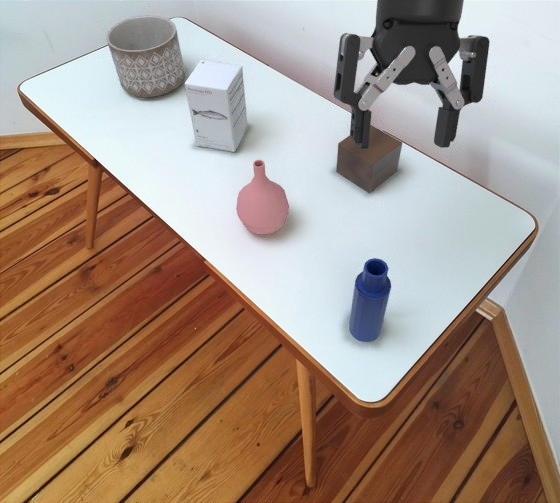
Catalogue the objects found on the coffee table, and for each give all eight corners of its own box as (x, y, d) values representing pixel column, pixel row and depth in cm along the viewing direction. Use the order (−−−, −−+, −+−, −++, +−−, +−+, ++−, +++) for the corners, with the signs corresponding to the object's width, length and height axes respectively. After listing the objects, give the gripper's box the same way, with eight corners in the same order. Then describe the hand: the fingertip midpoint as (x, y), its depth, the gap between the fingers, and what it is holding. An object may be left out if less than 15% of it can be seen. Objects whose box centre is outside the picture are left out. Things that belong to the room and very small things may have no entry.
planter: (187, 62, 106) (178, 13, 98) (184, 99, 98) (173, 48, 90) (126, 66, 106) (111, 17, 98) (118, 103, 98) (101, 53, 90)
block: (397, 171, 84) (402, 142, 79) (369, 193, 81) (373, 164, 76) (364, 151, 87) (367, 122, 82) (336, 172, 84) (338, 143, 80)
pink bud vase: (248, 249, 75) (240, 190, 65) (231, 214, 79) (222, 153, 70) (297, 233, 76) (296, 173, 67) (278, 199, 81) (275, 138, 71)
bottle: (387, 328, 66) (402, 268, 56) (366, 348, 64) (378, 289, 54) (363, 309, 68) (374, 247, 58) (342, 327, 66) (349, 267, 56)
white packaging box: (195, 147, 89) (182, 83, 79) (211, 121, 94) (200, 57, 84) (235, 154, 88) (226, 89, 78) (249, 127, 92) (243, 63, 82)
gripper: (359, -45, 40) (344, 158, 47) (524, -38, 43) (486, 154, 50) (333, -38, 47) (323, 139, 54) (477, -32, 49) (450, 137, 56)
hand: (401, 146), depth 52 cm, fingers open, 8 cm apart
